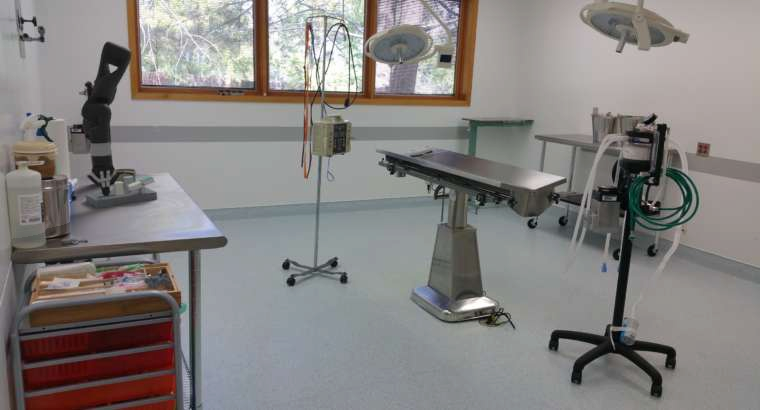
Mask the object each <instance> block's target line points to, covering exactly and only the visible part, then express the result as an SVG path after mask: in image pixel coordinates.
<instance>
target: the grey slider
mask: <svg viewBox="0 0 760 410" xmlns="http://www.w3.org/2000/svg"><path fill="white" fill-rule="evenodd" d="M123 178H124V185H125V190H127V189H129V188H128V186H127V185H129V184H132V183H134V180H133V178H134V177H132V176H126V177H123Z"/></svg>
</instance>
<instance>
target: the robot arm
mask: <svg viewBox="0 0 760 410" xmlns="http://www.w3.org/2000/svg"><path fill="white" fill-rule="evenodd" d="M132 53H133V52H132V50H131V49H130V48H128V47H126V46H123V45H120V44H118V43H116V42H113V41H109V40H108V41H106V42H105V43H104V45H103V47H102V50H101V54H100V59H99V65H98V70H97V75H96V77H95V81H94V84H93V87H92V91H91V95H90V96H89V98H88V99H87V100H86V101H85V102H84V103H83V105H82V108H81V117H82V123H81V125H82V126H81V127H82V131H83V132H84V134H86V135H88V136H89V144H88V148H89V156H90V163H91V165H90V166H91V172H90V173H88V174H86V178H87V179H89V180H90V181H91V182H92V183H93V185H94V186H97V187H100V189H101V192H102V194H103V195H104V196H109V194H110V191H111V190H110V189H111V188H110V186H113V184H114V183H115V181H116V180H117V178H118V177H119V175H120V174H121V173H120V172H118V171H116V170H115V166H114V162H113V161H114V160H113V154H112V153H113V150H112V136H111V135H112V133H111V121H112V120H111V119H112V110H111V107H110V105H112V103H113V102H114V100H115V99H116V94H117V92H118V89H117V88H118V85H119V84H120V82H121V80H122V78H123V77H124V75H125V73H126V71H127V69H128V67H129V64H130V62H131V59H132ZM110 65H111V66H113V67H116V69H115V70H114V71H112V72H111V69H110ZM112 174H113V177H112V178H111V175H112Z"/></svg>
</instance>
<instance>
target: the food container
mask: <svg viewBox="0 0 760 410" xmlns="http://www.w3.org/2000/svg"><path fill="white" fill-rule="evenodd" d="M115 170H116V171H118V172H120V173H121V174H120V175H119V177H118V178H117V180H116V181H115V182H119V181H121V182H123V188H125V185H124V178H123V177H126V176H132V177H134V178H133V180H134V182H137V180H136V179H137V178H136V177H137V175H138V174H137V171H136V169H134V168H118V169H117V168H116V169H115ZM112 177H113V174H112V175H111V178H112Z"/></svg>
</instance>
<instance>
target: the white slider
mask: <svg viewBox="0 0 760 410" xmlns="http://www.w3.org/2000/svg"><path fill="white" fill-rule="evenodd" d="M112 189H113V190H112V191H114V196H117V195H124V190H123V182H121V181H119V182H115V183H114V184H113V185H112Z"/></svg>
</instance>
